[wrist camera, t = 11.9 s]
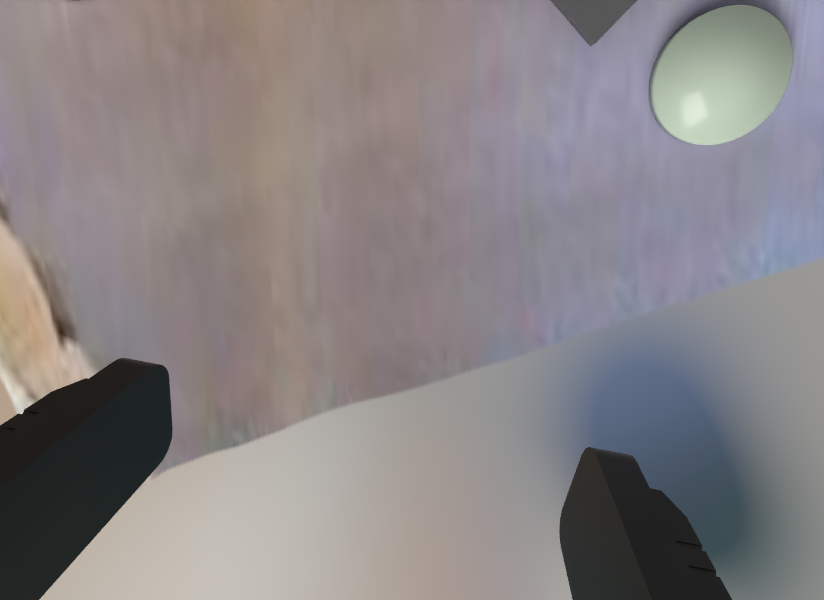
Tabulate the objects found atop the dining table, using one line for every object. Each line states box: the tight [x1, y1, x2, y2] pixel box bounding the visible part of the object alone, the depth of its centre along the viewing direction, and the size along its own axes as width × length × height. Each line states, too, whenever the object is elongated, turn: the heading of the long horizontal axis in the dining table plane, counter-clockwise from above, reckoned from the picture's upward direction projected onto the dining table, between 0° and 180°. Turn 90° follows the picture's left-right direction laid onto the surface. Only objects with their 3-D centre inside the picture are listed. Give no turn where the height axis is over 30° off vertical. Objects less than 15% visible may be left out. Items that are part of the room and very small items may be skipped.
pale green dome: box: [649, 5, 793, 145], centre depth 30 cm, size 8×8×1 cm
